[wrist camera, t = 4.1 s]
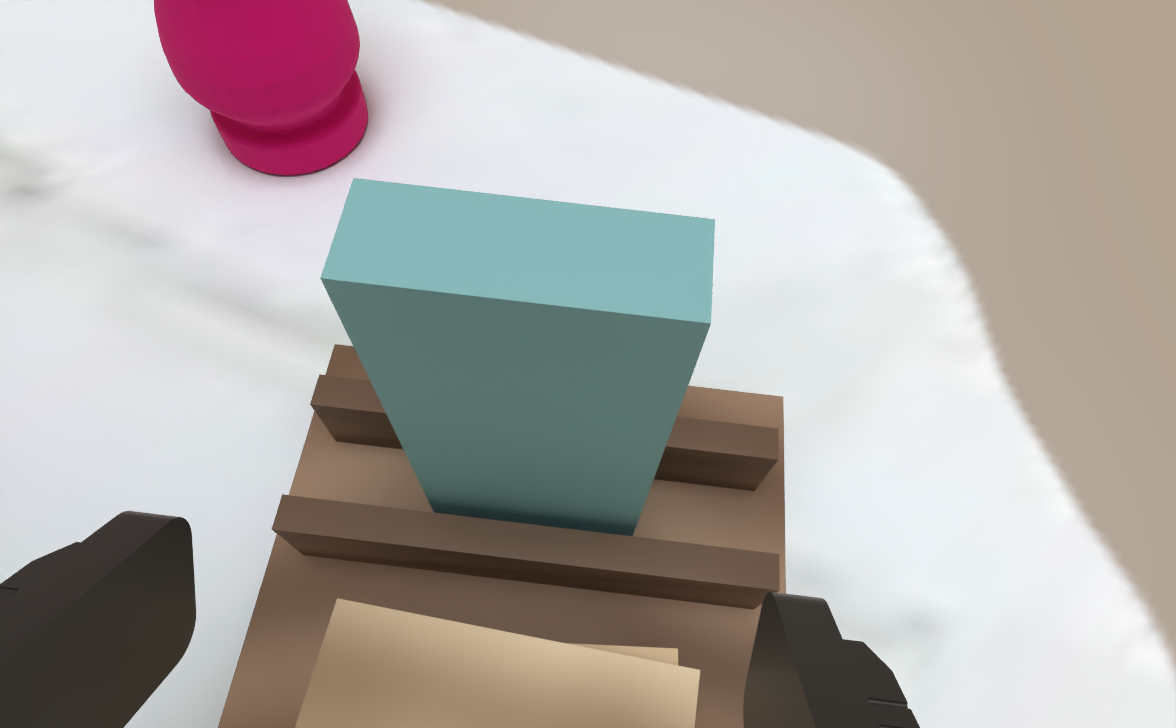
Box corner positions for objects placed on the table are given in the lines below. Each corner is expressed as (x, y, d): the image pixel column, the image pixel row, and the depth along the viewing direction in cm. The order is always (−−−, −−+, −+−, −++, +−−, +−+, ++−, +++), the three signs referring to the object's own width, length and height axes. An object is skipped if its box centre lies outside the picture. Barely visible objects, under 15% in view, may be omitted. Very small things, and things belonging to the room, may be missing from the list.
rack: (774, 995, 20) (830, 1055, 16) (181, 920, 20) (90, 960, 16) (772, 413, 28) (808, 357, 24) (344, 363, 28) (310, 299, 24)
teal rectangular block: (628, 548, 24) (711, 323, 11) (440, 525, 24) (320, 277, 12) (633, 488, 25) (714, 219, 12) (452, 466, 25) (353, 178, 12)
